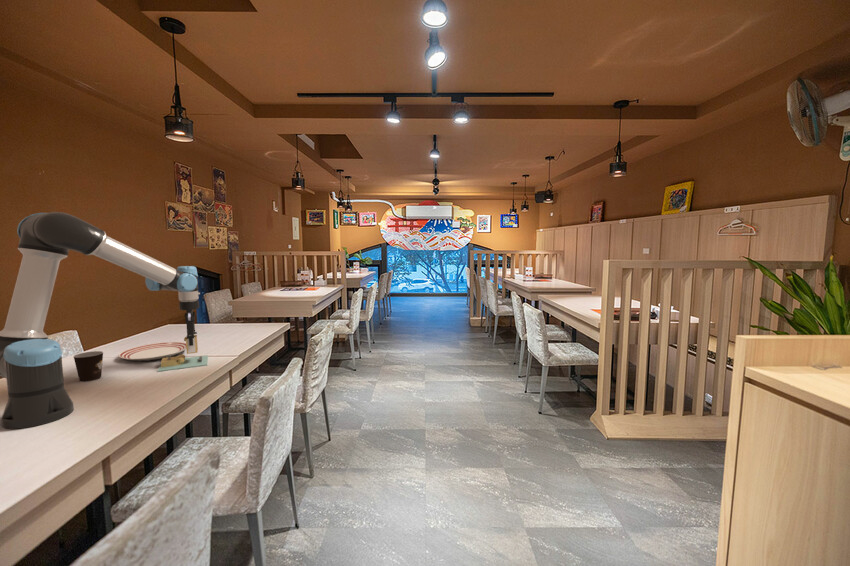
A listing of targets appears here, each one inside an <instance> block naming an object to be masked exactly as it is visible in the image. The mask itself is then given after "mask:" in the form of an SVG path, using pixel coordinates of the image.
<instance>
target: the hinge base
mask: <svg viewBox="0 0 850 566" xmlns="http://www.w3.org/2000/svg"><path fill="white" fill-rule="evenodd" d="M208 358H209V356H208V355H200V356H191V357H186V355H185V354H182V353H179V355H177V356H176V355H175V356H171V357H167V358H162V359H161V361H160V365H159V368H158V369H157V373H159V372H161V373H162V372H166V371H167V372H168V371H173V370H175V371H176V370H182V369H190V368H197V367H205V366H208V360H209V359H208Z"/></svg>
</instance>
